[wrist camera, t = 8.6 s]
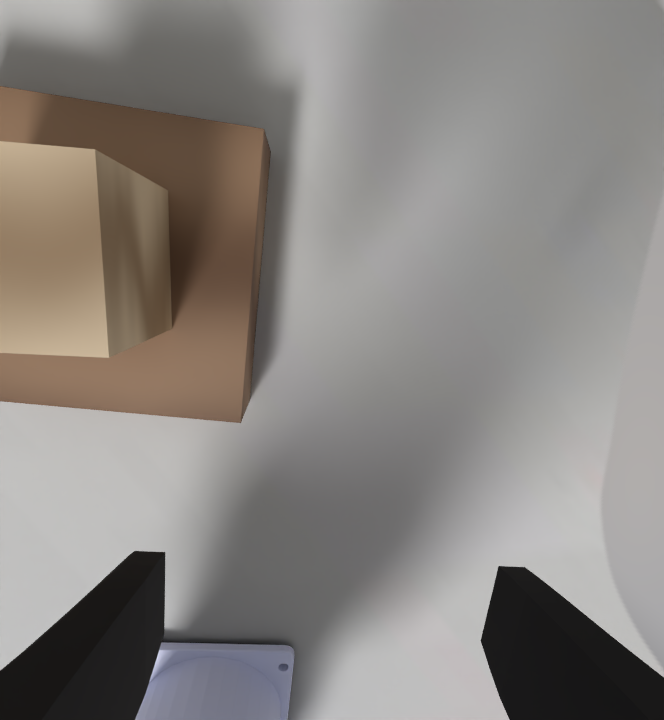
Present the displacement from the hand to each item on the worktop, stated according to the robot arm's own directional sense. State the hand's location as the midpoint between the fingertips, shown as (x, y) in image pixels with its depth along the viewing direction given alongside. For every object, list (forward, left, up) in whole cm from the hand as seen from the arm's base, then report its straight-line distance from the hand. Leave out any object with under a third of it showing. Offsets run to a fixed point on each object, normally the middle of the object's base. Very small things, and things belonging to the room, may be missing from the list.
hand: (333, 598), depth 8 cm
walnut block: (+6, +8, -10) cm, 14 cm away
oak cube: (+6, +8, -7) cm, 12 cm away
